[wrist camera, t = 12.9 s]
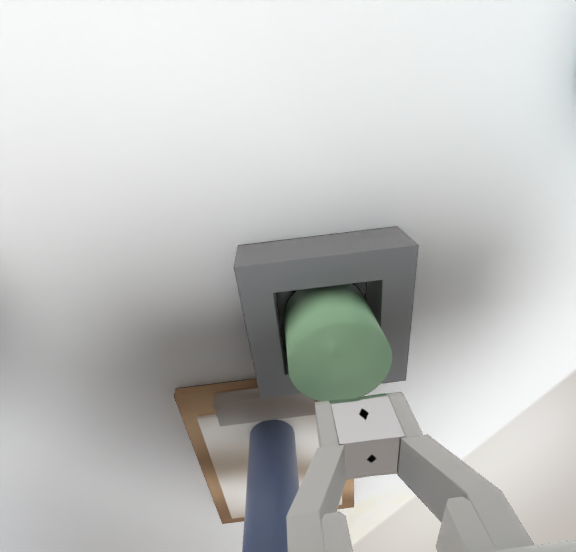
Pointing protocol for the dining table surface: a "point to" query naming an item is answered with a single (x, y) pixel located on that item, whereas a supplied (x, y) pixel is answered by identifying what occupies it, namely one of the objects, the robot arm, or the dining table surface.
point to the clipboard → (243, 437)
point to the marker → (270, 486)
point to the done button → (334, 343)
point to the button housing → (321, 273)
